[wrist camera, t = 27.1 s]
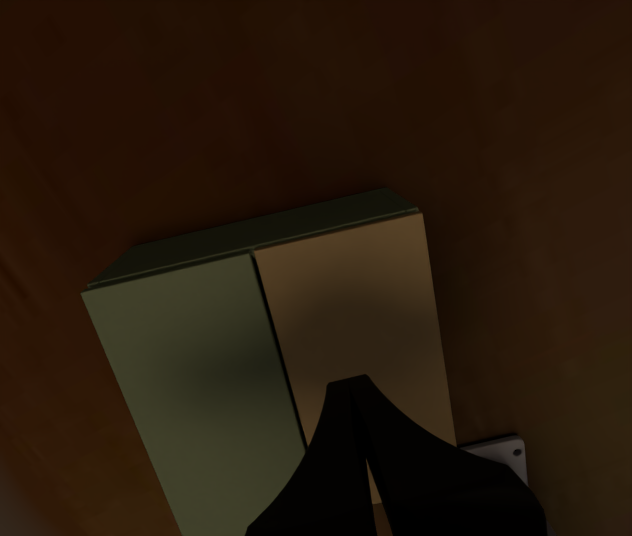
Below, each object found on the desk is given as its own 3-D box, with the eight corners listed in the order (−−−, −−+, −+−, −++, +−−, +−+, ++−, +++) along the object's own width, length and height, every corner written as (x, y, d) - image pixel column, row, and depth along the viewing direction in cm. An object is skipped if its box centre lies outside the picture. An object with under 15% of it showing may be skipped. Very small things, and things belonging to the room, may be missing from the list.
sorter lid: (254, 248, 17) (253, 251, 17) (420, 210, 17) (422, 212, 16) (325, 507, 21) (326, 514, 21) (459, 478, 21) (462, 485, 21)
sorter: (131, 246, 22) (77, 291, 16) (386, 186, 22) (424, 210, 16) (207, 454, 27) (186, 550, 21) (423, 403, 27) (464, 486, 21)
